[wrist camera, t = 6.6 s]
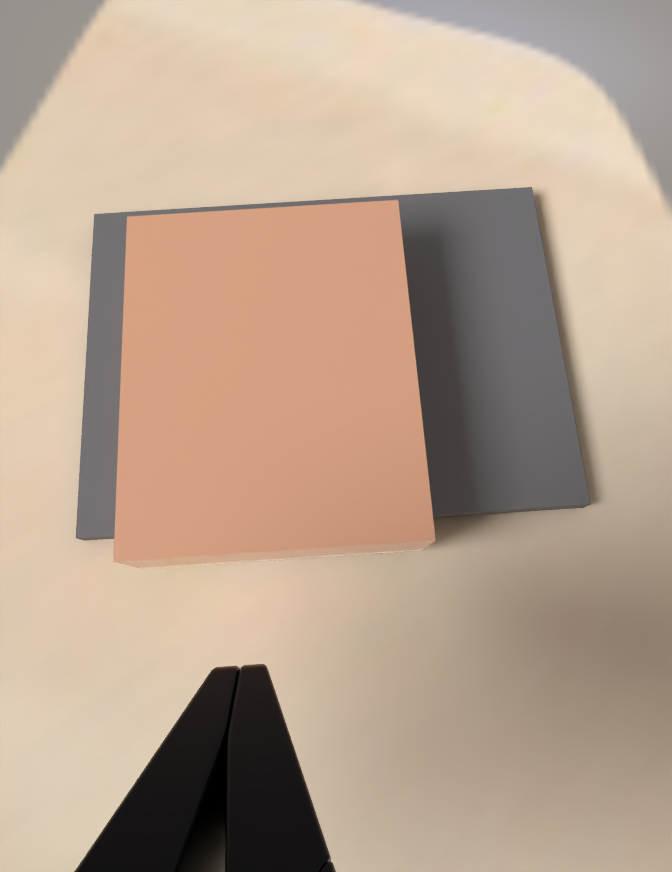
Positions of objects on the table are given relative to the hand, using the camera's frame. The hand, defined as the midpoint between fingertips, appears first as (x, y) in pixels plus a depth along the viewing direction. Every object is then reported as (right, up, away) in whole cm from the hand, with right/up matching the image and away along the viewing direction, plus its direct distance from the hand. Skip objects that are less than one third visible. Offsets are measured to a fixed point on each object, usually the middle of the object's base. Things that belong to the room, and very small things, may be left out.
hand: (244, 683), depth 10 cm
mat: (+1, +7, +10) cm, 12 cm away
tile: (0, +1, +7) cm, 7 cm away
